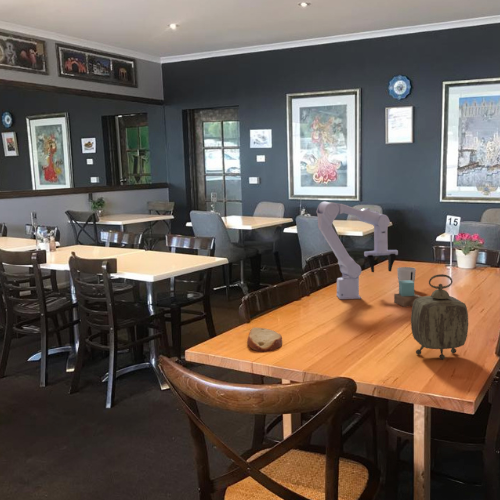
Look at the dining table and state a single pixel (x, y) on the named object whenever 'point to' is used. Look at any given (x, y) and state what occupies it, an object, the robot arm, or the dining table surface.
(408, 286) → the teal block
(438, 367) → the dining table surface
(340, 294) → the robot arm
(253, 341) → the slice of bread
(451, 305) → the tabletop clock
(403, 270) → the cup
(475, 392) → the dining table surface
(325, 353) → the dining table surface
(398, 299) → the brown block
